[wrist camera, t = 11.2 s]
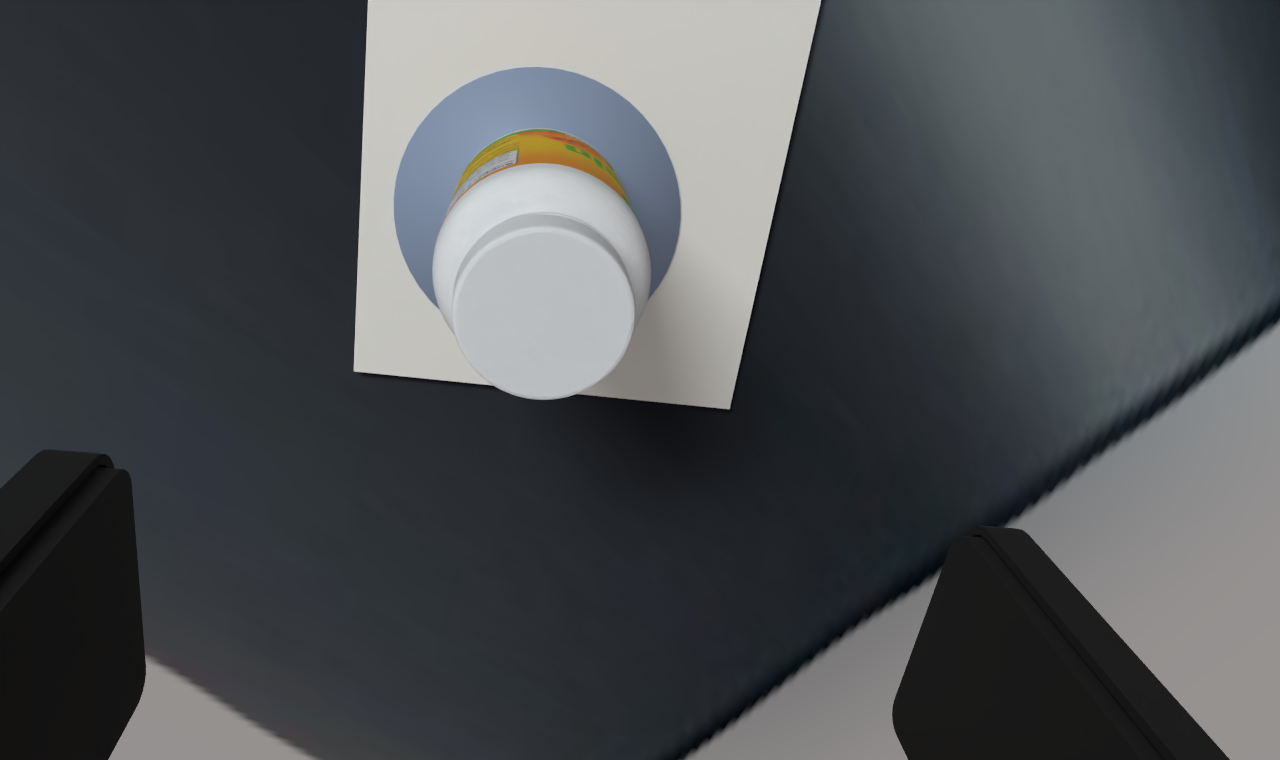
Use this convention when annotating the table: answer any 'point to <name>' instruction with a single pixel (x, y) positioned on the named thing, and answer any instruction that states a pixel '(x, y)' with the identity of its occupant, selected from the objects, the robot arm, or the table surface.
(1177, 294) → the table surface
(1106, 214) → the table surface
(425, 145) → the paper sheet
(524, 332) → the supplement bottle
